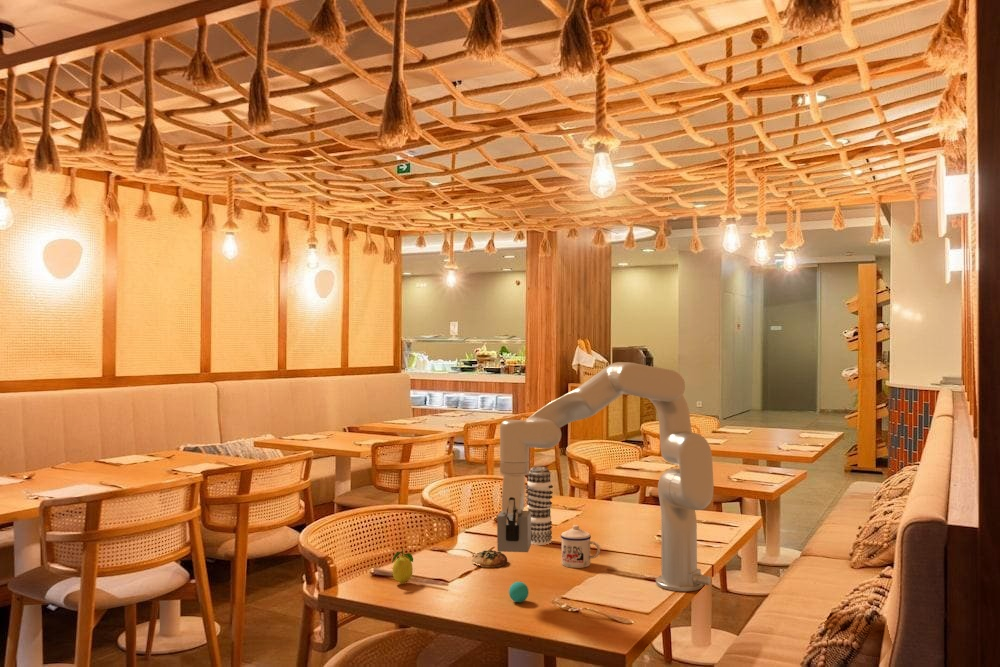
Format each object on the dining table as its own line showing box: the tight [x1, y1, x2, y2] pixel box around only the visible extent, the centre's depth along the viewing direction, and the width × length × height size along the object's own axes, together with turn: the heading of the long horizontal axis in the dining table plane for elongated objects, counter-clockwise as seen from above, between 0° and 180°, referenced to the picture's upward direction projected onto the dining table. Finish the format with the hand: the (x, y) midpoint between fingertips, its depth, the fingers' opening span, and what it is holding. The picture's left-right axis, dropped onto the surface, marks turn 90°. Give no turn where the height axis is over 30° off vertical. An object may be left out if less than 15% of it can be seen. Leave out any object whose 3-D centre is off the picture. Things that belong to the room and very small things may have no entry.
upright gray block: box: [496, 509, 532, 553], centre depth 192 cm, size 8×8×9 cm
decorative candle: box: [525, 466, 554, 546], centre depth 254 cm, size 9×9×25 cm
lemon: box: [391, 547, 414, 585], centre depth 206 cm, size 7×6×10 cm
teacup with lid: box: [560, 524, 601, 569], centre depth 226 cm, size 12×9×12 cm
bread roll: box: [471, 549, 508, 569], centre depth 227 cm, size 11×11×5 cm
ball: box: [508, 581, 529, 603], centre depth 191 cm, size 5×5×5 cm
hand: (514, 536), depth 192 cm, fingers closed on upright gray block, 7 cm apart
